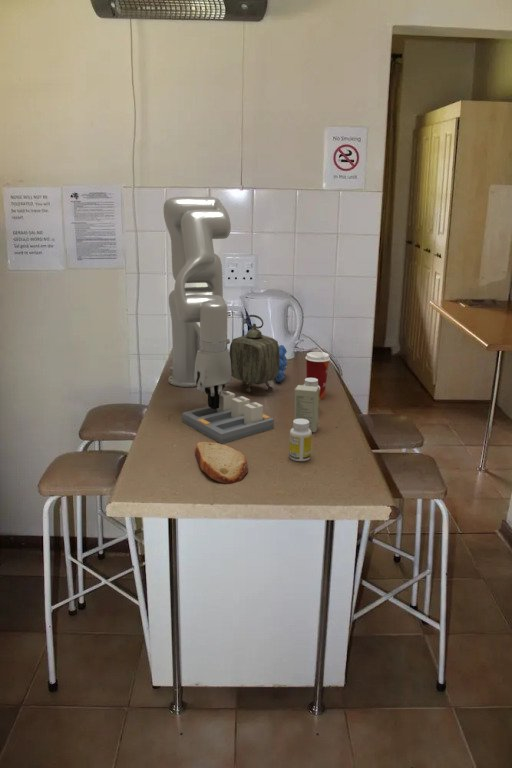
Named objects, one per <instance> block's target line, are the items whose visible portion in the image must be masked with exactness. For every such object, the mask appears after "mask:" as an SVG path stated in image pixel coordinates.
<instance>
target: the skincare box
mask: <svg viewBox="0 0 512 768" xmlns="http://www.w3.org/2000/svg"><path fill="white" fill-rule="evenodd" d="M293 393H294V396H293V397H294V399H293V401H294V405H293V407H294V408H293V409H294V411H293V412H294V414H293V416H294V417H293V421H294V420H295V419H306V420H308V421H309V429H310V430H311V433H316V432H317V430H318V428H319V412H318V408H319V409H320V402H319V387H317V386H305V385H304V384H298V385H297V386H296V387H294V392H293Z"/></svg>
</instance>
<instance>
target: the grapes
mask: <svg viewBox="0 0 512 768" xmlns="http://www.w3.org/2000/svg"><path fill="white" fill-rule="evenodd" d="M287 352H288V351H287V349H286V347H285V346H284V345H283V344H281V345H279V354H280V362H279V371H278V375H277V377H276V378H275V379H274V380H276V382H277V383H280V382H282V381H283V380H284V379H285V377H286V375H285V373H284V372H285V370H287V365H288V362H287V357H286V354H287Z"/></svg>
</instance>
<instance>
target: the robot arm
mask: <svg viewBox="0 0 512 768" xmlns="http://www.w3.org/2000/svg"><path fill="white" fill-rule="evenodd" d="M163 218H164V222H165V225H166V229H167V231H168V234H169V237H170V244H171V245H170V247H171V252H170V253H171V271H172V277H173V279H174V281H175V282H174V289H172V291H171V292H170V293H169V295H168V307H169V312H170V319H171V335H172V337H171V339H172V342H171V343H172V344H171V345H172V365H171V366H169V370H170V371H172V374H171V375H170V376H169V377H168V378H167V379H168V380H167V381H168V383H169V384H171V385H172V386H175V387H181V388H182V387H183V388H189V387H190V388H191V387H192V388H193V387H196V390H197V391H198V392H201V393H202V392H204V393H205V394H206V395H207V405H208V406H209V407H210V408H212V409H216V408H217V409H218V408H219V398H220V395H221V393H222V392H223V390H224V388H226V387H227V386H229V385H230V384H231V380H232V376H231V360H230V353H229V351H230V349H228V344H231V340H230V339H229V338H228V303H227V302H226V300H225V299H224V292H223V291H224V290H223V289H224V288H223V287H224V286H223V265H222V261H221V258H220V256H219V255H218V254H217V253H215V248H214V241H213V240H223V239H224V240H225V239H227V238H228V237H229V236H230V234H231V230H232V229H231V228H232V226H231V225H232V224H231V219H230V215H229V212H228V211H227V209H226V208H225V206H224V205H223V203H222V202H221V200H220V199H219V198H217V197H215V196H214V197H213V196H175V197H171V198H168V199H166V200H165V201H164V203H163ZM186 284H206V285H207V286H200V287H199V286H189V287H186ZM198 323H199V324H198ZM208 406H207V407H208Z"/></svg>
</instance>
